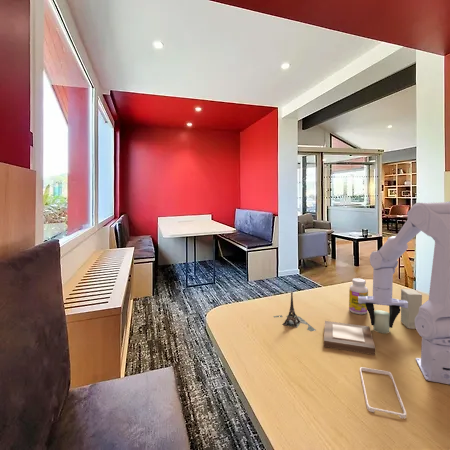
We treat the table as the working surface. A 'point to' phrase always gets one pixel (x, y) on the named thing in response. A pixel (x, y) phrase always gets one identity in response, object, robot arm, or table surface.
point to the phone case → (395, 390)
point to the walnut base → (348, 337)
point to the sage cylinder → (381, 321)
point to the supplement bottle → (354, 292)
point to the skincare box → (410, 307)
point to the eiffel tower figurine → (294, 318)
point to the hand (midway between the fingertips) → (381, 325)
